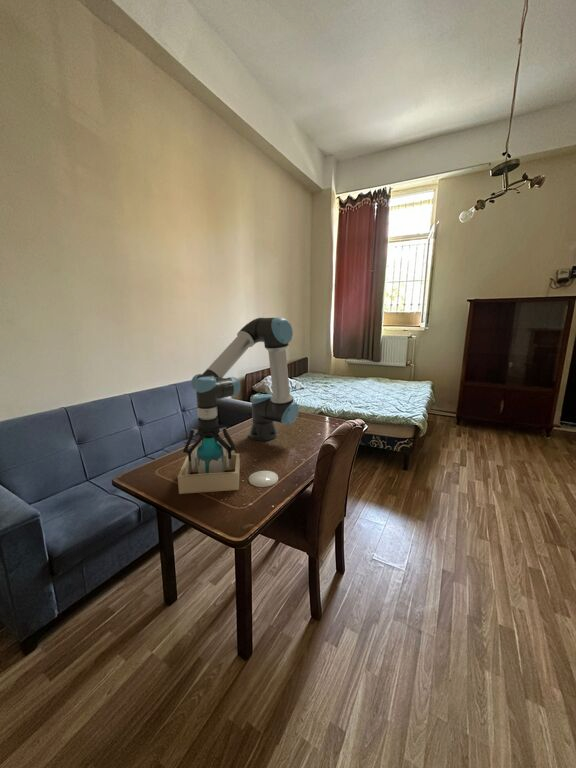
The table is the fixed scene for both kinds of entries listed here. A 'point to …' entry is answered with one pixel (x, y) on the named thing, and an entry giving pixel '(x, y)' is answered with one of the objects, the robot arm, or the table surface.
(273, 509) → the table surface
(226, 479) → the carton
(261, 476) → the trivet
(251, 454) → the table surface
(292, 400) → the robot arm
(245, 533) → the table surface
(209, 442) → the vase
